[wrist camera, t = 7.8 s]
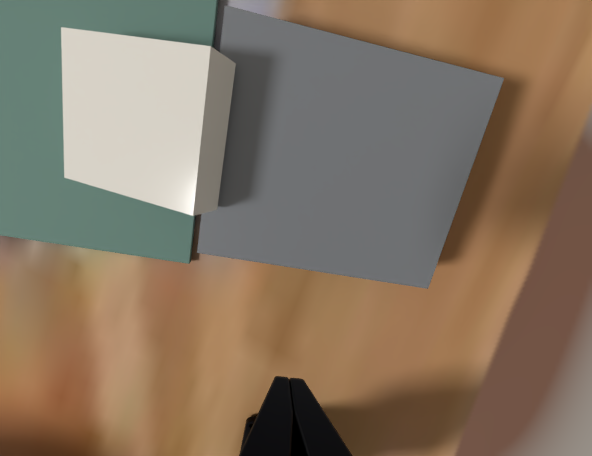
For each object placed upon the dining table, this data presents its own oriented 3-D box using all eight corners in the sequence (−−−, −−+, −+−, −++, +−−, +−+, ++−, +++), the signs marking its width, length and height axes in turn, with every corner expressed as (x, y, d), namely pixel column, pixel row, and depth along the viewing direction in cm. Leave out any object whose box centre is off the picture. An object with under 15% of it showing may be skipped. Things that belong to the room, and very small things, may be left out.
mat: (190, 261, 19) (188, 263, 19) (-42, 225, 17) (-49, 227, 17) (220, -18, 15) (218, -22, 14) (-85, -100, 13) (-95, -107, 13)
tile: (217, 209, 15) (192, 215, 13) (100, 176, 17) (64, 177, 15) (235, 63, 13) (210, 46, 11) (101, 44, 15) (60, 27, 13)
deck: (406, 268, 20) (427, 288, 18) (209, 235, 19) (197, 252, 16) (465, 89, 17) (504, 78, 14) (234, 30, 16) (224, 5, 13)
